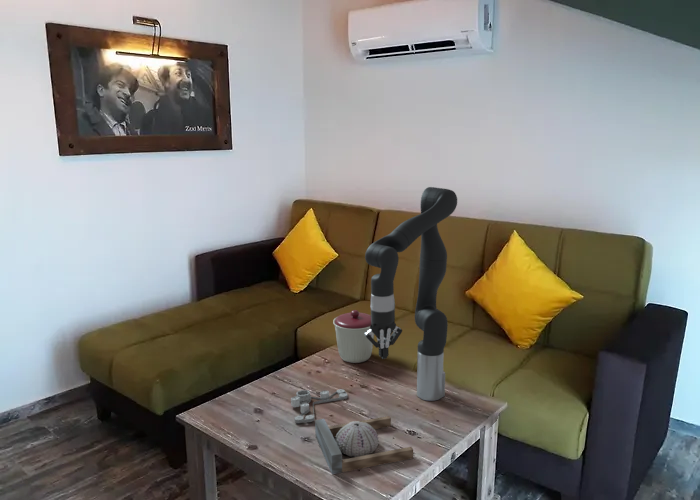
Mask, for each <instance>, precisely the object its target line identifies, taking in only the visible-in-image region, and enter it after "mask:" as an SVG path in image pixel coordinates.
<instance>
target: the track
mask: <svg viewBox="0 0 700 500" xmlns="http://www.w3.org/2000/svg"><path fill="white" fill-rule="evenodd" d="M358 421H359V422H363V423H367V424H369V425H371V426H372V427H373V428H374V429H375V430H378V429H385V428H389V427H390V428H391V426H392V424H391V423H392V422H391V421H392V418H391V416H390V415H388V416H387V415H386V416H382V417H375V418H370V419H369V418H368V419H365V420H363V419H362V420H358ZM314 423H315V424H314V427H315V428H314V429H315V430H314V431H315V433H314V434H315V439H316V441H317V444H318V446H319V448H320V451H321V452H322V455H323V457H324V459H325V461H326V464H327V466H328V469H329V470H330V473H331V475H335V474H341V473H346V472H347V473H348V472H352V471H356V470H361V469H366V468H371V467H375V466H382V465H385V464H390V463H396V462H401V461H406V460H412V459H414V449H413V447H412V446H408V447H401V448H397V449H392V450H388V451H387V450H386V451H381V452H376V453H371V454H368V455H365V456H360V457H354V456H353V457H351V458H344V459H343V453H342V452H341V451H340V449H339V447H338V445H337V443H336V440H335V439H336V434H337V433H338V432H339V430H340V429H341V428H342V427H344V426H345V425H347V424H348V423H349V422H346V423H340V424H335V425H328V423H327V421H326V420H325V418H319V419H314Z"/></svg>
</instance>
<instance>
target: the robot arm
mask: <svg viewBox="0 0 700 500" xmlns="http://www.w3.org/2000/svg"><path fill="white" fill-rule="evenodd" d="M457 206H458V197H457V194H456V192H455V191H453V190H451V189H449V188H443V187H442V188H441V187H434V186H433V187H432V186H428V187H426V188H425V189H424V190H423V191H422V194H421V197H420V214H417V215H415V216H413V217H410V218H408V219H407V220H404V221H403V222H401V223H400V224H399V225H398V226H396V228H394V229H393V230H392V231H391V232H390V233H389V234H387V235H384V236H382V237H380V238H379V239H377V240H376V241H374V242H373V243H371V244H369V246H368V248H367V249H366V251H365V254H364V255H365V256H364V258H365V262H366V263H367V264H368V265H369V266H371V267H375V268H379V269H380V273H375V274H374V275H373V276H371V279H370V293H371V294H370V315H371V326H370V330H369V331H368V332H364V335H365V336H366V337H367V339H368V340H369V341H370V342H371V343H372V344H373V346H374V347H375V348H377V349H378V356H379V357H380V358H381V359H382V360H385V359H387V358H388V357H389V349H390V346H394V345H395V343H396V341H397V340H398V338H399V337H400V336H401V334H402V333H403V329H402V328H401V327H399V326H397V324H396V322H395V320H396V315H395V314H396V313H395V312H396V309H395V307H396V303H395V295H394V291H395V290H394V288H395V287H394V281H395V278H396V277H395V276H396V272H397V269H398V265H399V253H402V252H404V251H406V250H407V249H408V248H409V247H410V246H411V245H412V244H413V243H414V242H415V241H416V240H417V239H418V238H419V237H420V239H421V240H420V254H419V272H418V273H419V275H418V289H417V290H418V291H417V299H416V304H415V311H414V322H415V325H416V327H417V328H419V329H420V330H421V331H422V332H423V337H422V338H423V339H422V340H420V341H418V344H417V362H416V363H417V365H416V366H417V367H416V370H417V371H416V396H417V397H418V398H419V399H421V400H423V401H429V402H431V401H432V402H434V401H438V400H440V399H442V398H443V397H445V393H446V372H445V370H444V355H445V352H444V351H445V350H444V349H445V347H446V344H447V339H448V338H447V337H448V325H449V324H448V317H447V315H446V314H445V313H444V312H443V311H441V310H440V309H438V308H437V294H438V290H439V287H440V286H441V284H442V282H443V280H444V279H445V275H446V273H447V265H448V264H447V262H448V253H447V249H446V246H445V243H444V241H443V238H442V237H441V234H440V232H439V229H438V228H439V227H438V224H439V223H440V222H442V221H443V220H445V219H447V218H448V217H449V216H451V215H452V214H453V213H454V212H455V210H456V208H457ZM372 332H373V333H374V337H375V336H376V340H377V341H376V340H375V339H373V338H372V337H373V335H372Z"/></svg>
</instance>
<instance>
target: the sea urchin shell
mask: <svg viewBox="0 0 700 500" xmlns="http://www.w3.org/2000/svg"><path fill="white" fill-rule="evenodd" d="M359 421H360V420H357V421H356V420H353V421H349V422H347V423H348V424H347V425H345V426H344V427H342V428H341V429H340V430H339V432H338V433H337V434H336V436H335V438H334V439H335V441H336V443H337V445H338V447H339V449H340V451H341V453H342V454H343V455H346V456H349V457H353V458H354V457H360V456H365V455H370V454H373V453H374V451H376V449H377V447H378V445H379V441H380V439H379V434H378V433H377V431H376V429H374V428H373V427H372V426H371V425H369V424H367V423H363V422H359Z"/></svg>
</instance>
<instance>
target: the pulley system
mask: <svg viewBox="0 0 700 500" xmlns="http://www.w3.org/2000/svg"><path fill="white" fill-rule="evenodd" d="M319 393H320V397H316V396H312V395H311V391H310V390H306V389H300V390H298V391H296V394H295V395H294V396H292V397H290V405H291V407H293V408H299V407H300V413H301V414H299V415H296V416H294V422H295V423H296V424H301V423H311V422H315V409H314V406H315V405H316V404H317V405H318V404H323V403H329V402H335V401H343V400H344V399H345V400H348V396H349V395H348V393H347V392H346V390H345V389H342V388H339V389H336V391H335V392H333V393H332V394H331V395H330V391H329V390H321V391H320V392H319ZM336 394H337V395H338V397H335V398H333V396H334V395H336ZM312 399H314V400H317V401H313V402H312ZM311 402H312V410H313V411H312V412H313V414H308V413H310V404H309V403H311ZM306 414H308V415H306ZM304 416H305V417H304Z"/></svg>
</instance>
